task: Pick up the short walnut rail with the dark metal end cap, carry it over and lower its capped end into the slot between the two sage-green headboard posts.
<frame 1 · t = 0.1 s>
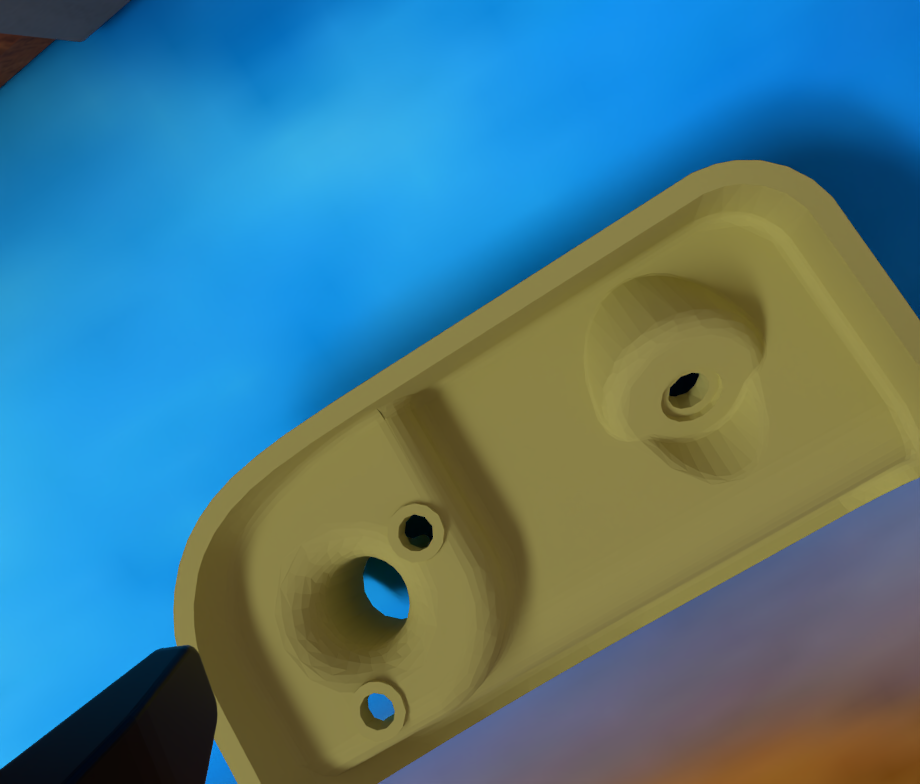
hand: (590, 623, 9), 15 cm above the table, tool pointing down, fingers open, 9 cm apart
plastic component: (539, 451, 25), on the table
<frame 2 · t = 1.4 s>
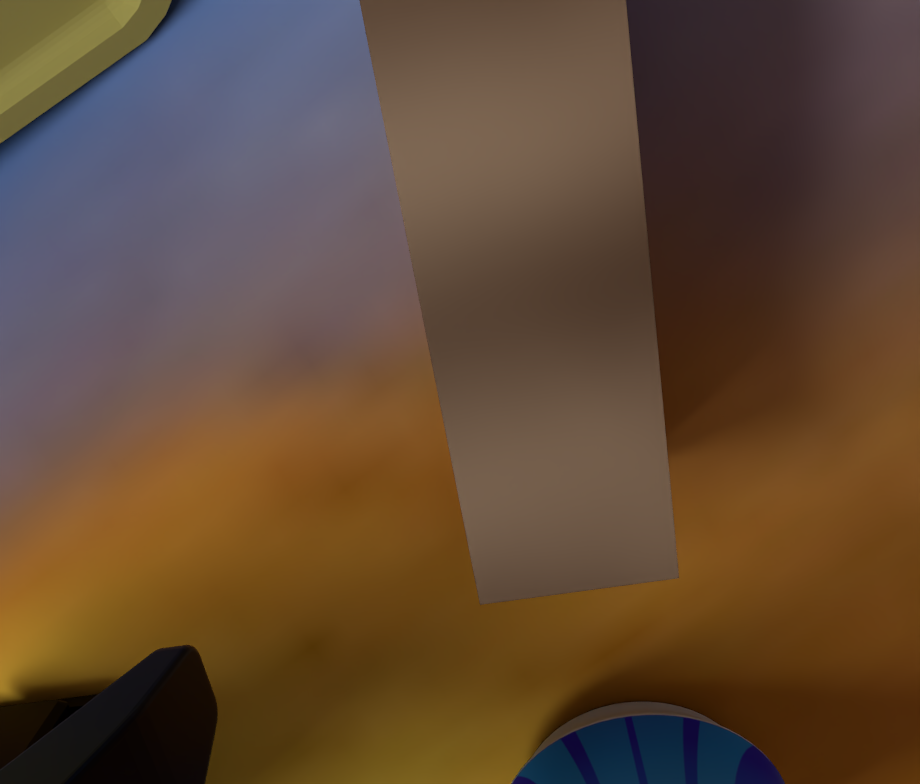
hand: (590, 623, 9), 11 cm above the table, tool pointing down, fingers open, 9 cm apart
beer can: (634, 783, 25), on the table
rail: (522, 249, 19), on the table
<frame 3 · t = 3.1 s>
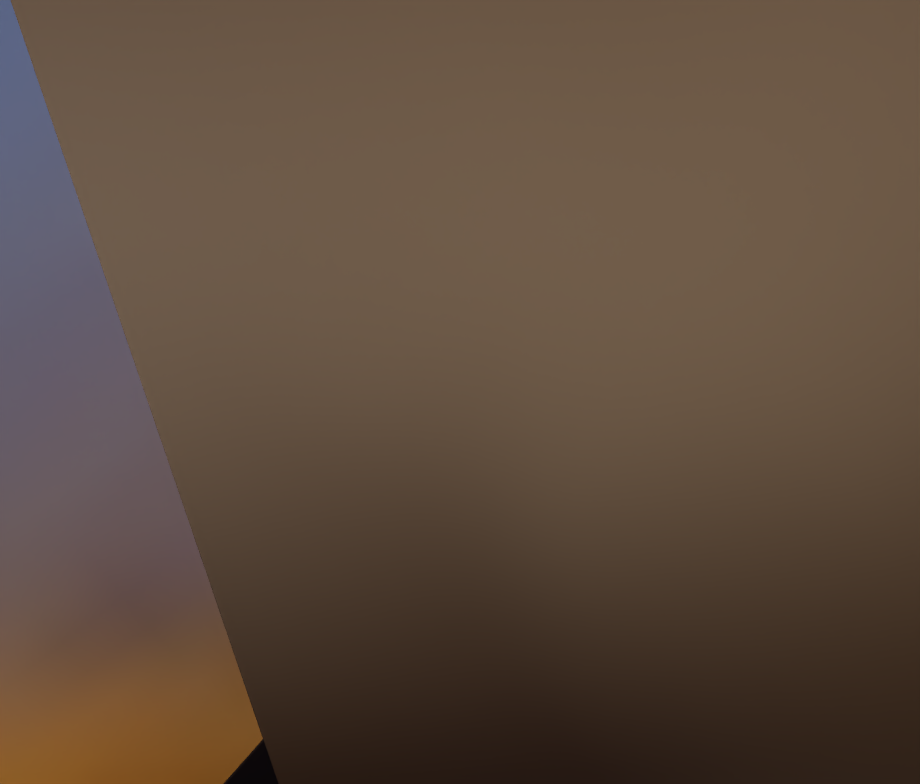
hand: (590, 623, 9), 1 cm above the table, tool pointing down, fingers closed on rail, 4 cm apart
rail: (556, 422, 9), on the table, touching gripper
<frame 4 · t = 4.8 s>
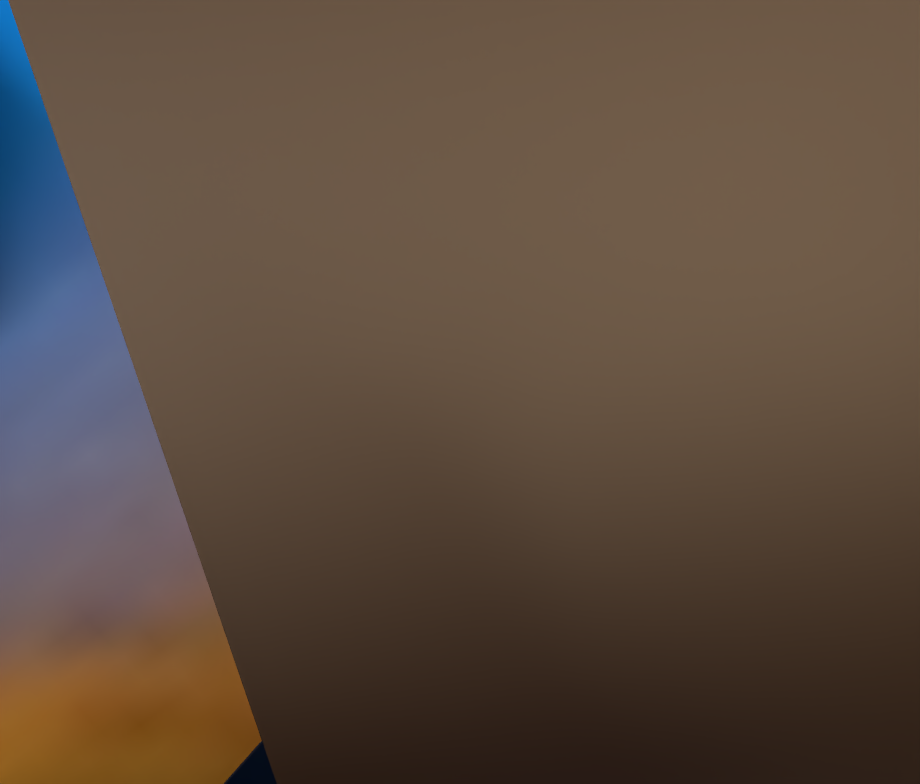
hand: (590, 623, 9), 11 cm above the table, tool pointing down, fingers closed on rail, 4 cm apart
rail: (557, 421, 9), point 10 cm above the table, touching gripper
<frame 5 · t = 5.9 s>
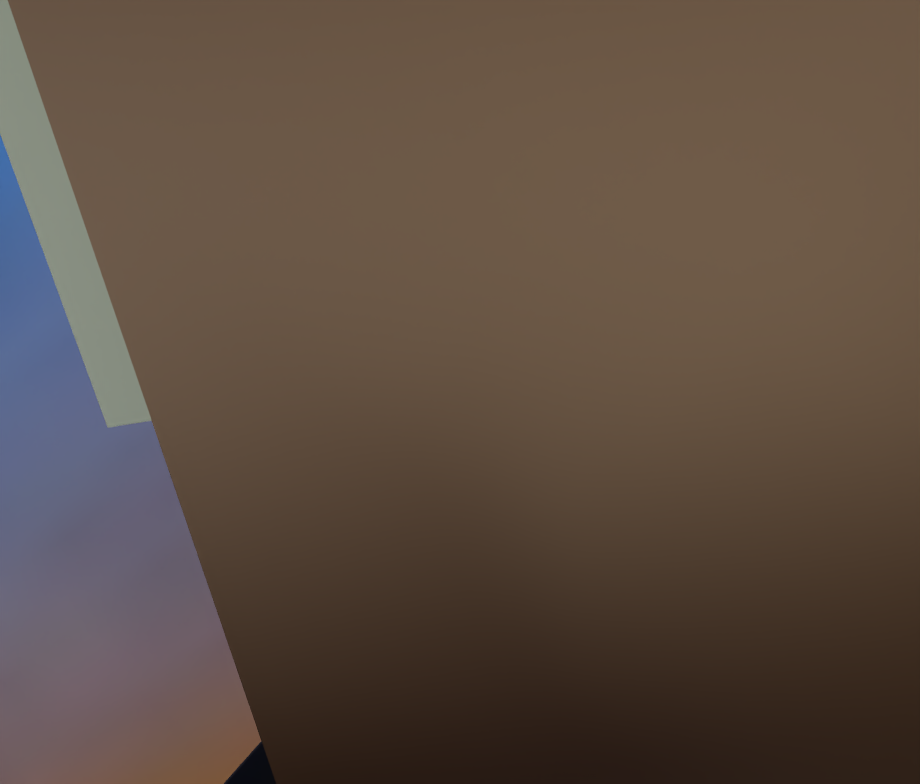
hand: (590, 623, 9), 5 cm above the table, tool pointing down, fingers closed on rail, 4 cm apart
rail: (557, 421, 9), point 4 cm above the table, touching gripper
headboard posts: (500, 51, 11), on the table
when the fingers open (2 cm above the table, at t = 6.7 s): rail drops 1 cm, on the table.
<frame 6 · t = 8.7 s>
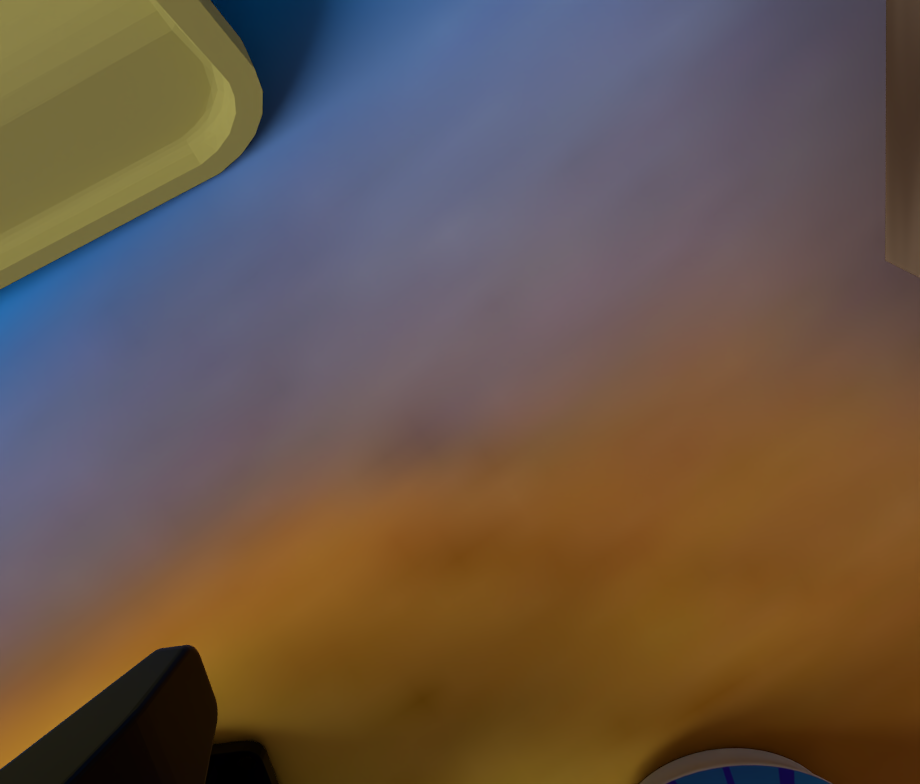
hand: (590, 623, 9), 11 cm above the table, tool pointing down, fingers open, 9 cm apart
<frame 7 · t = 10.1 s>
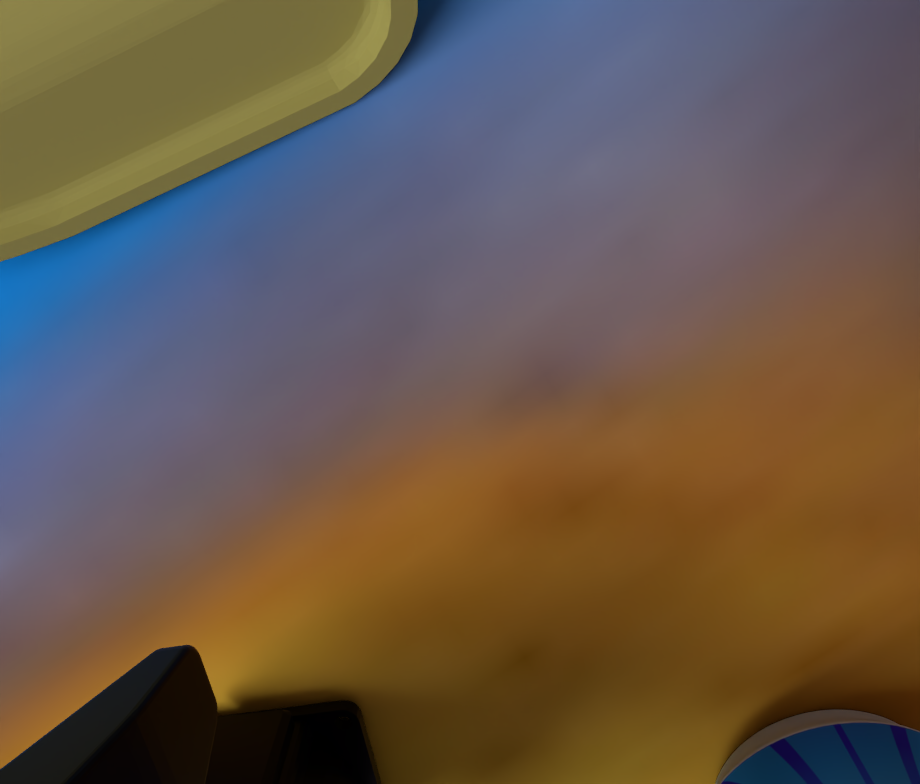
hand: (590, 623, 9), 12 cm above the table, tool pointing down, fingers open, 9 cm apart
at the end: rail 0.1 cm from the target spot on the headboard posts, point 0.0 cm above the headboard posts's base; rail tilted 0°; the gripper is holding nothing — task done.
